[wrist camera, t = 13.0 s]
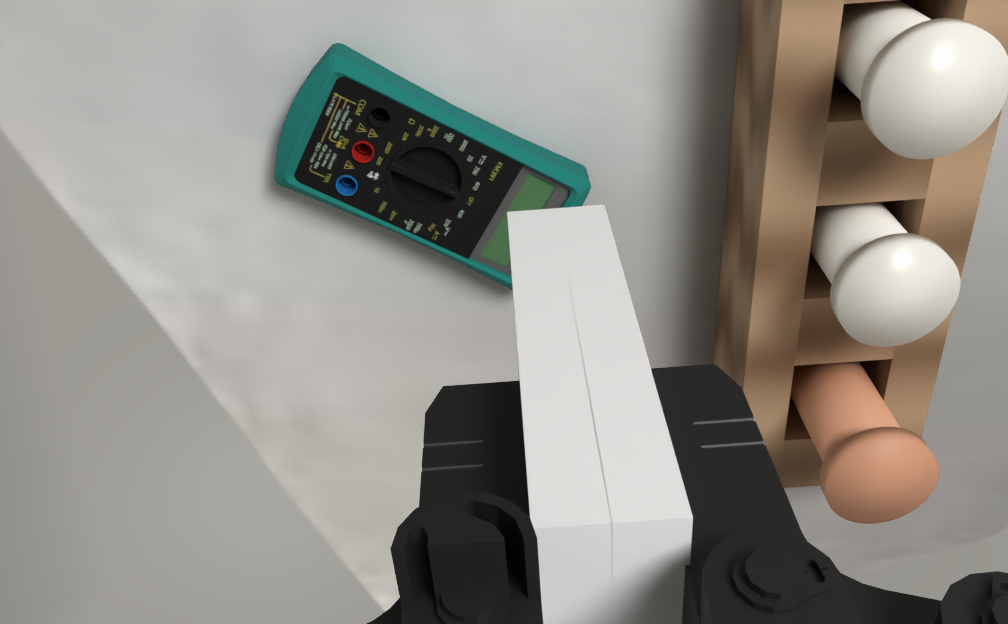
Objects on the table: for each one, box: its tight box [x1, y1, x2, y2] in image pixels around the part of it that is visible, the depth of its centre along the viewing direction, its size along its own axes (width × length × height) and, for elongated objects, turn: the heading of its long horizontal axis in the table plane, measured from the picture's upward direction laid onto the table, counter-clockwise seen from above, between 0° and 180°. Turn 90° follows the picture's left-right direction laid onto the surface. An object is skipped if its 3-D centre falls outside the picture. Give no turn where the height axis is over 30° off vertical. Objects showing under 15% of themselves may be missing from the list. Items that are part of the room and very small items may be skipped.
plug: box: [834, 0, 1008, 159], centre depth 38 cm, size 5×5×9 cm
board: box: [714, 0, 1008, 488], centre depth 45 cm, size 30×10×6 cm, turn 4°
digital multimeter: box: [274, 43, 591, 289], centre depth 45 cm, size 7×15×3 cm, turn 62°
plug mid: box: [810, 202, 960, 347], centre depth 43 cm, size 5×5×9 cm
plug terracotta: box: [790, 361, 939, 524], centre depth 46 cm, size 5×5×9 cm
